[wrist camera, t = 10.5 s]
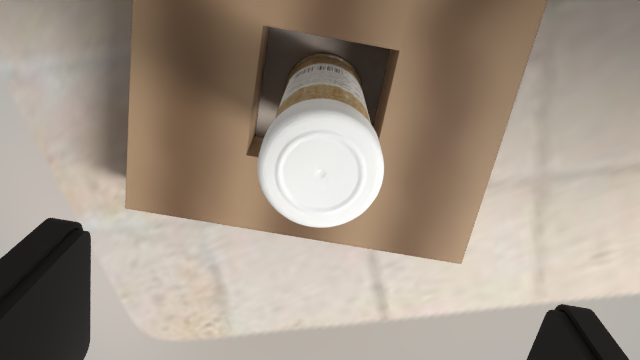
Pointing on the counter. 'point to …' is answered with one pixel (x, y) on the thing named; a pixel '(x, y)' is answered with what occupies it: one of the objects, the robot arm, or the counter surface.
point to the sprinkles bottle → (321, 146)
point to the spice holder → (390, 121)
